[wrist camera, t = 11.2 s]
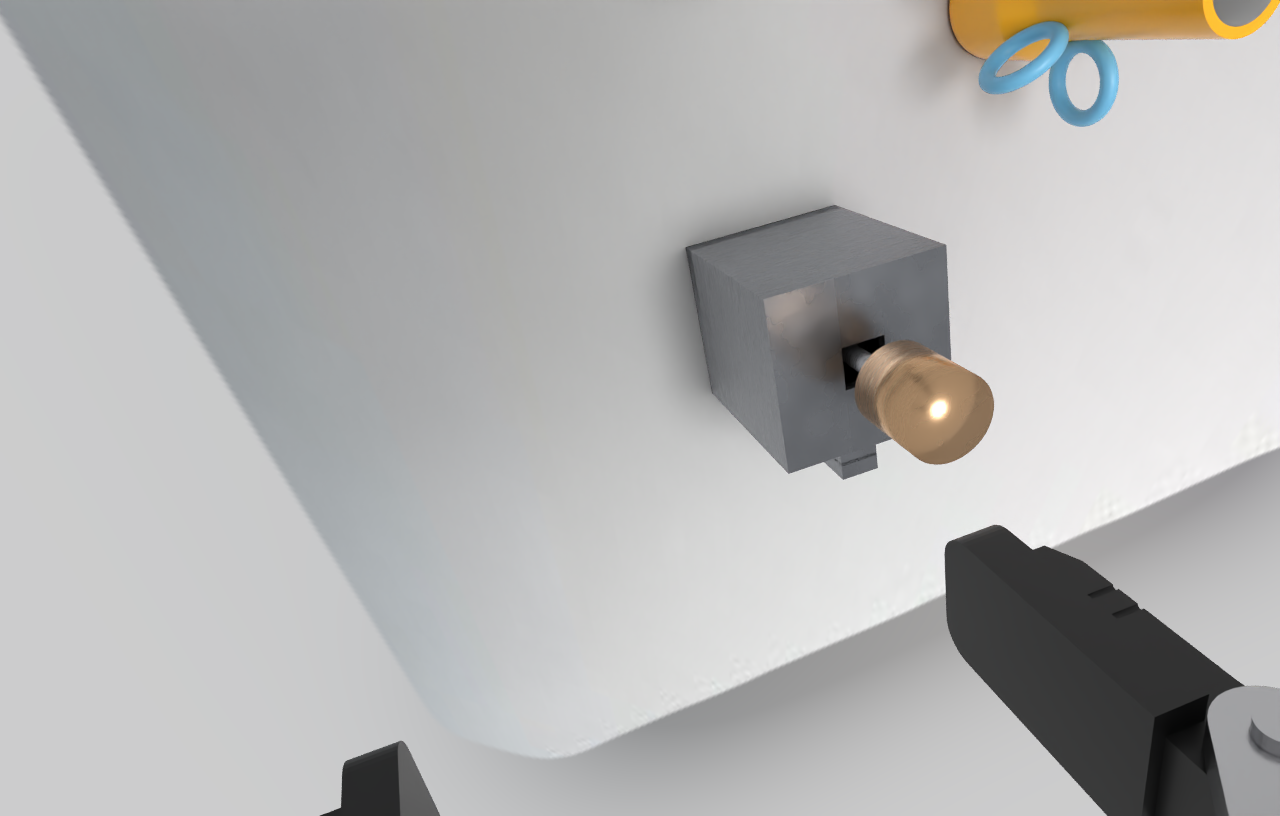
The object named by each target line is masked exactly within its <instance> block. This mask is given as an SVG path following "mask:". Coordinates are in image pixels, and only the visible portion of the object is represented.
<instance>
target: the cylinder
mask: <svg viewBox="0 0 1280 816" xmlns="http://www.w3.org/2000/svg"><path fill="white" fill-rule="evenodd" d="M1279 3H1280V0H950V6H949V13H950V22H951V25H952V29H953V32H954V34H955V36H956V38H957V40H958V42H959V43H960V44H961V45H962V47H963V48H964V49H965V50H967V51H968V52H969V53H970V54H972V55H974V56H976V57H978V58H982V59H987V60H986V61H985V63H984V65H983V66H982V68H981V71H980V73H979V85H980V87H981V88H982V90H983V91H985V92H987V93H989V94H1004V93H1008V92H1011V91H1014V90H1017V89H1019V88H1021V87H1023V86H1025V85H1027V84H1029V83H1030V82H1032V81H1034V80H1035V79H1037V78H1038V77H1040V76H1041V75H1042V74H1043V73H1045V72H1046V71H1047V70H1048V69H1049V68H1050V67H1051V69H1050V74H1049V93H1050V98H1051V101H1052V104H1053V106H1054V108H1055V110H1056V112H1057V113H1058V115H1059V116H1060V117H1061V118H1062V119H1063V120H1064V121H1066V122H1067V123H1069V124H1071V125H1074V126H1079V127H1084V126H1089V125H1092V124H1095V123H1096V122H1098V121H1100V120H1101V119H1102V118H1103V117H1104V116H1105V115H1106V114H1107V113H1108V112H1109V110H1110V109H1111V107H1112V105H1113V103H1114V101H1115V98H1116V95H1117V91H1118V83H1119V74H1118V67H1117V63H1116V60H1115V57H1114V55H1113V53H1112V51H1111V50H1110V48H1109V47H1108V46H1107V45H1106V44H1105V43H1104V42H1103V41H1102V40H1153V39H1238V38H1242V37H1245V36H1248V35H1250V34H1251V33H1253V32H1255V31H1256V30H1257V29H1259V28H1260V27H1261V26H1262V25H1263V24H1264V23H1265V22H1266V21H1267V20H1268V19H1269V18H1270V16H1271V15H1272V14H1273V12H1274V11H1275V9H1276V8H1277V6H1278V4H1279ZM1078 53H1086V54H1088V55H1089V56H1091V57H1092V59H1093V60H1094V61H1095V63H1096V65H1097V67H1098V70H1099V75H1100V89H1099V94H1098V97H1097V99H1096V101H1095V103H1094V104H1093V106H1092V107H1091V108H1089V109H1088V110H1080V109H1078V108H1076V107H1075V106H1074V105H1073V104H1072V102H1071V101H1070V99H1069V97H1068V94H1067V90H1066V72H1067V68H1068V65H1069V63H1070V61H1071V60H1072V58H1073V57H1074V56H1075V55H1076V54H1078ZM1007 60H1016V61H1032V62H1030V63H1029V64H1028V65H1026V66H1025V67H1023V68H1021V69H1020V70H1018V71H1016V72H1014V73H1012V74H1009V75H1006V76H1003V77H996V74H997V72H998V70H999V69H1000V67H1001V66H1002V65H1003V64H1004V63H1005V62H1006V61H1007Z"/></svg>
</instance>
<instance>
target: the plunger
mask: <svg viewBox="0 0 1280 816" xmlns="http://www.w3.org/2000/svg"><path fill="white" fill-rule="evenodd" d="M841 350H842V359H843V361H844V362H845V363H847V364H848V365H849V366H851V367H852V368H854V369H855V370H857V371H858V372H859V374H858V376H857V379H856V384H855V402H856V405H857V407H858V409H859V411H860V413H861V414H862V415H863V416H864V417H865V418H866V419H867V420H868V421H870V422H871V423H872V424H874V425H875V426H876V427H877V428H879V429H880V430H881V431H883V432H884V433H885V434H887V435H888V436H889V437H890V438H892V439H893V440H894V441H896V442H897V443H898V444H899V445H901V446H902V447H903V448H905V449H906V450H907V451H908V452H910V453H911V454H912V455H914V456H915V457H916V458H918V459H919V460H921V461H923V462H925V463H929V464H946V463H949V462H953V461H955V460H957V459H959V458H961V457H963V456H964V455H966V454H967V453H969V452H970V451H971V450H972V449H973V448H974V447H975V446H976V445H977V444H978V443H979V442H980V441H981V440H982V438H983V437H984V435H985V434H986V432H987V430H988V428H989V425H990V423H991V420H992V416H993V411H994V400H993V395H992V392H991V389H990V387H989V386H988V384H987V383H986V382H985V381H984V380H983V379H982V378H981V377H979V376H977V375H976V374H974V373H972V372H970V371H968V370H967V369H965V368H963V367H961V366H960V365H958V364H956V363H954V362H952V361H951V360H949V359H947V358H945V357H943V356H942V355H940V354H938V353H936V352H934V351H933V350H931V349H929V348H927V347H925V346H924V345H922V344H920V343H918V342H915V341H911V340H898V341H894V342H891V343H888V344H886V345H884V346H882V347H881V348H879V349H878V350H876V351H875V352H874V353H873V354H870V353H869V352H867V351H866V350H864V349H863V348H861V347H859V346H858V345H856V344H853V345H850V346H847V347H844V348H841Z"/></svg>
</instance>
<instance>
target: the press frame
mask: <svg viewBox="0 0 1280 816" xmlns="http://www.w3.org/2000/svg"><path fill="white" fill-rule="evenodd" d="M686 251H687V256H688V262H689V267H690V273H691V278H692V284H693V289H694V295H695V300H696V306H697V311H698V317H699V322H700V328H701V333H702V339H703V344H704V350H705V355H706V361H707V366H708V371H709V377H710V382H711V388H712V393H713V394H714V395H715V396H716V397H717V399H718V400H719V401H720V402H721V403H722V404H723V405H724V406H725V407H726V408H727V409H728V410H729V411H730V412H731V413H732V414H733V415H734V417H735V418H736V419H737V420H738V421H739V422H740V423H741V424H742V425H743V426H744V427H745V428H746V429H747V430H748V431H749V432H750V433H751V434H752V436H753V437H754V438H755V439H756V440H757V441H758V442H759V443H760V444H761V445H762V446H763V447H764V448H765V449H766V450H767V451H768V452H769V454H770V455H771V456H772V457H773V458H774V459H775V460H776V461H777V462H778V463H779V464H780V465H781V466H782V467H783V468H784V469H785V470H786V472H787V473H788V474H789V473H792V472H795V471H798V470H801V469H804V468H807V467H810V466H813V465H816V464H819V463H822V462H825V463H826V464H827V465H828V466H829V467H830V468H831V469H832V470H833V471H834V472H835V473H836V474H838V475H839V476H840V477H841V478H842V479H843V480H844V479H847V478H850V477H853V476H855V475H858V474H861V473H864V472H867V471H870V470H873V469H876V468H878V466H877V455H876V444H879V443H881V442H884V441H887V440H890V439H892V438H890V437H889V436H888V435H887V434H885V433H884V432H883V431H881V430H880V429H879V428H877V427H876V426H875V425H874V424H872V423H871V422H870V421H868V420H867V419H866V418H865V417H864V416H863V415H862V414H861V413H860V411H859V409H858V407H857V405H856V402H855V384H856V379H857V376H858V374H859V372H858V371H857V370H855V369H854V368H852V367H851V366H849V365H848V364H847V363H845V362H844V361H843V359H842V350H841V348H844V347H847V346H850V345H853V344H856V345H858V346H859V347H861V348H863V349H864V350H866V351H867V352H869V353H870V354H873V353H874V352H875V351H876V350H878V349H879V348H881V347H882V346H884V345H886V344H888V343H891V342H894V341H898V340H911V341H915V342H918V343H920V344H922V345H924V346H925V347H927V348H929V349H931V350H933V351H934V352H936V353H938V354H940V355H942V356H943V357H945V358H947V359H949V360H951V348H950V324H949V300H948V276H947V253H946V245H945V244H942V243H939V242H937V241H934V240H931V239H928V238H925V237H923V236H920V235H917V234H914V233H911V232H909V231H906V230H903V229H900V228H897V227H895V226H892V225H889V224H886V223H883V222H881V221H878V220H875V219H872V218H869V217H867V216H864V215H861V214H858V213H855V212H853V211H850V210H847V209H844V208H841V207H839V206H836V205H834V206H831V207H827V208H824V209H820V210H817V211H813V212H809V213H806V214H802V215H799V216H795V217H792V218H788V219H785V220H781V221H778V222H774V223H771V224H767V225H763V226H760V227H756V228H753V229H749V230H746V231H742V232H739V233H735V234H732V235H728V236H725V237H721V238H717V239H714V240H710V241H707V242H703V243H700V244H696V245H693V246H689V247H686Z"/></svg>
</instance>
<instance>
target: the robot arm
mask: <svg viewBox="0 0 1280 816" xmlns="http://www.w3.org/2000/svg"><path fill="white" fill-rule="evenodd" d="M945 580H946V611H947V623H948V628H949V631H950V634H951V637H952V639H953V641H954V644H955V645H956V647H957V649H958V651H959V652H960V654H961V655H962V657H963V658H964V659H965V661H966V662H967V663H968V664H969V665H970V666H971V667H972V668H973V669H974V671H975V672H976V673H977V674H978V675H979V676H980V677H981V678H982V679H983V680H984V682H985V683H986V684H987V685H988V686H989V687H990V688H991V689H992V690H993V691H994V692H995V694H996V695H997V696H998V697H999V698H1000V699H1001V700H1002V701H1003V702H1004V703H1005V704H1006V706H1007V707H1008V708H1009V709H1010V710H1011V711H1012V712H1013V713H1014V714H1015V715H1016V716H1017V718H1019V720H1020V721H1021V722H1022V723H1023V724H1024V725H1025V726H1026V727H1027V728H1028V730H1029V731H1030V732H1031V733H1032V734H1033V735H1034V736H1035V737H1036V738H1037V739H1038V740H1039V742H1040V743H1041V744H1042V745H1043V746H1044V747H1045V748H1046V749H1047V750H1048V751H1049V753H1050V754H1051V755H1052V756H1053V757H1054V758H1055V759H1056V760H1057V761H1058V762H1059V763H1060V765H1062V767H1064V769H1065V770H1066V771H1067V772H1068V773H1069V774H1070V775H1071V776H1072V778H1073V779H1074V780H1075V781H1076V782H1077V783H1078V784H1079V785H1080V786H1081V787H1082V788H1083V790H1085V792H1086V793H1087V794H1088V795H1089V796H1090V797H1091V798H1092V799H1093V801H1094V802H1095V803H1096V804H1097V805H1098V806H1099V807H1100V808H1101V809H1102V810H1103V811H1104V813H1105V814H1106V815H1107V816H1280V689H1279V688H1273V687H1266V686H1244V685H1243V684H1241V683H1240V682H1239V681H1237V680H1236V679H1234V678H1233V677H1232V676H1230V675H1229V674H1228V673H1226V672H1225V671H1224V670H1222V669H1221V668H1220V667H1219V666H1218V665H1216V664H1215V663H1214V662H1212V661H1211V660H1210V659H1208V658H1207V657H1206V656H1205V655H1203V654H1202V653H1201V652H1199V651H1198V650H1197V649H1195V648H1194V647H1193V646H1192V645H1190V644H1189V643H1188V642H1187V641H1185V640H1184V639H1183V638H1181V637H1180V636H1179V635H1177V634H1176V633H1175V632H1173V631H1172V630H1171V629H1170V628H1168V627H1167V626H1166V625H1164V624H1163V623H1162V622H1161V621H1159V620H1158V619H1157V618H1156V617H1154V616H1153V615H1152V614H1150V613H1149V612H1148V611H1146V610H1145V609H1142V610H1141V609H1140V608H1139V607H1138V604H1137V603H1136V602H1135V601H1133V600H1132V599H1131V598H1130V597H1128V596H1127V595H1126V594H1124V593H1123V592H1122V591H1120V590H1119V589H1118V590H1115V589H1114V587H1113V584H1112V583H1110V582H1109V581H1108V580H1106V579H1105V578H1104V577H1102V576H1101V575H1100V574H1099V573H1097V572H1096V571H1095V570H1093V569H1092V568H1091V567H1090V566H1088V565H1087V564H1086V563H1084V562H1083V561H1081V560H1078V559H1076V558H1073V557H1071V556H1069V555H1066V554H1064V553H1061V552H1059V551H1056V550H1054V549H1051V548H1049V547H1046V546H1042V547H1039V548H1037V549H1034V550H1032V549H1031V548H1030V547H1028V546H1027V545H1026V544H1025V543H1023V542H1022V541H1021V540H1020V539H1019V538H1017V537H1016V536H1015V535H1014V534H1012V533H1011V532H1010V531H1009V530H1007V529H1006V528H1004V527H1002V526H1000V525H993V526H990V527H987V528H984V529H982V530H979V531H976V532H974V533H971V534H968V535H965V536H963V537H960V538H957V539H955V540H952V541H949V542H948V543H947V545H946V547H945ZM321 816H440V815H439V812H438V810H437V808H436V806H435V803H434V801H433V799H432V797H431V795H430V793H429V791H428V789H427V787H426V785H425V783H424V781H423V778H422V776H421V774H420V772H419V770H418V768H417V766H416V764H415V762H414V760H413V758H412V755H411V753H410V751H409V749H408V747H407V746H406V744H405V743H404V742H403V741H399V742H396V743H393V744H391V745H388V746H386V747H383V748H380V749H377V750H374V751H372V752H369V753H366V754H363V755H361V756H358V757H356V758H353V759H350V760H347V761H346V762H345V763H344V766H343V772H342V797H341V808H339V809H336V810H334V811H331V812H329V813H326V814H323V815H321Z"/></svg>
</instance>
